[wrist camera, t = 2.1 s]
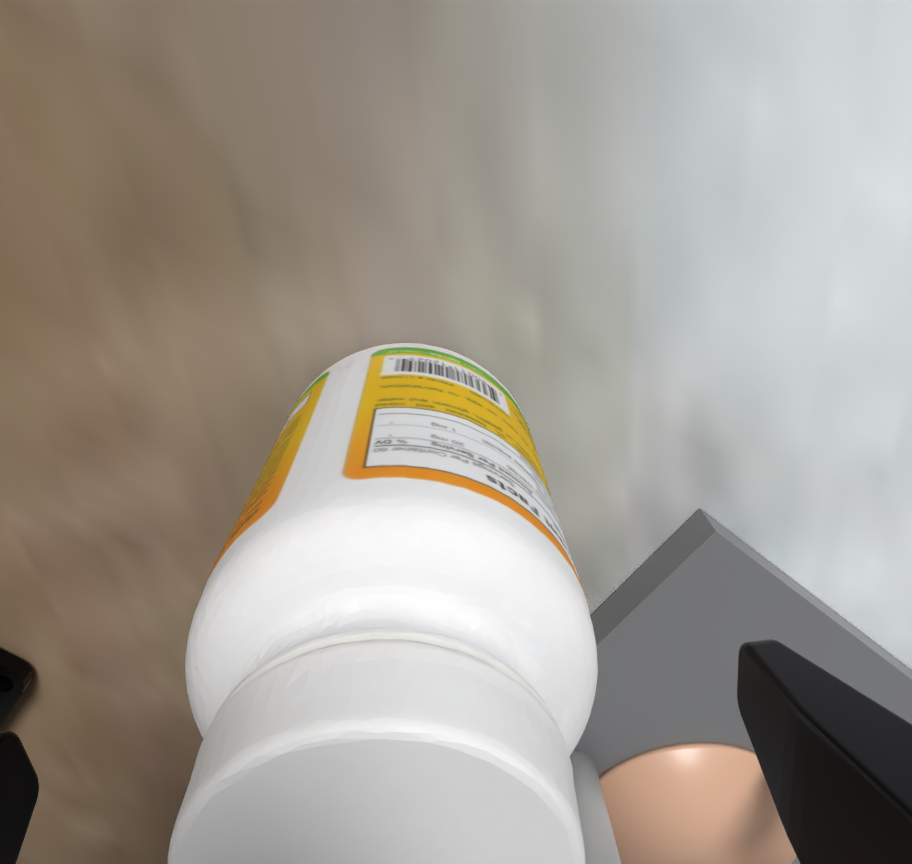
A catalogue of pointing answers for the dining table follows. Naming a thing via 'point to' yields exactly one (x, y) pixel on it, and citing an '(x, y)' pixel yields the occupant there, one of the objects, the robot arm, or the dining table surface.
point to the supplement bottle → (391, 636)
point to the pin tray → (701, 702)
